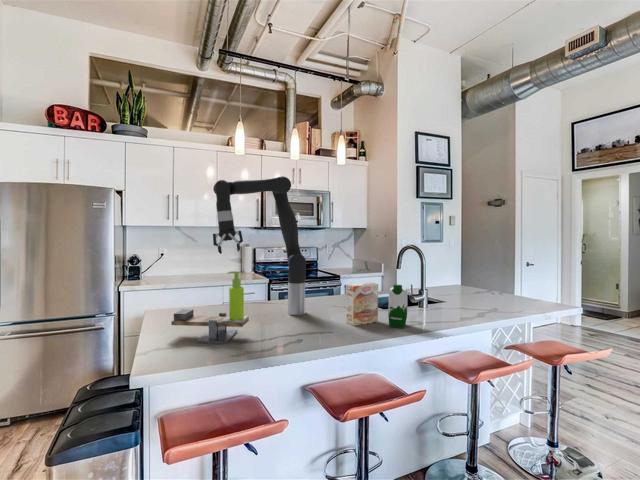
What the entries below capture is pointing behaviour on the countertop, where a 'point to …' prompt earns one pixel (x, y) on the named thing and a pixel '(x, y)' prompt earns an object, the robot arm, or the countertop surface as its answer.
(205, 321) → the seesaw board
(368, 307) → the coffeecake box
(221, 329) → the seesaw stand
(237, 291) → the soap dispenser
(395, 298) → the milk carton
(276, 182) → the robot arm
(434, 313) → the countertop surface
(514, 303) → the countertop surface
